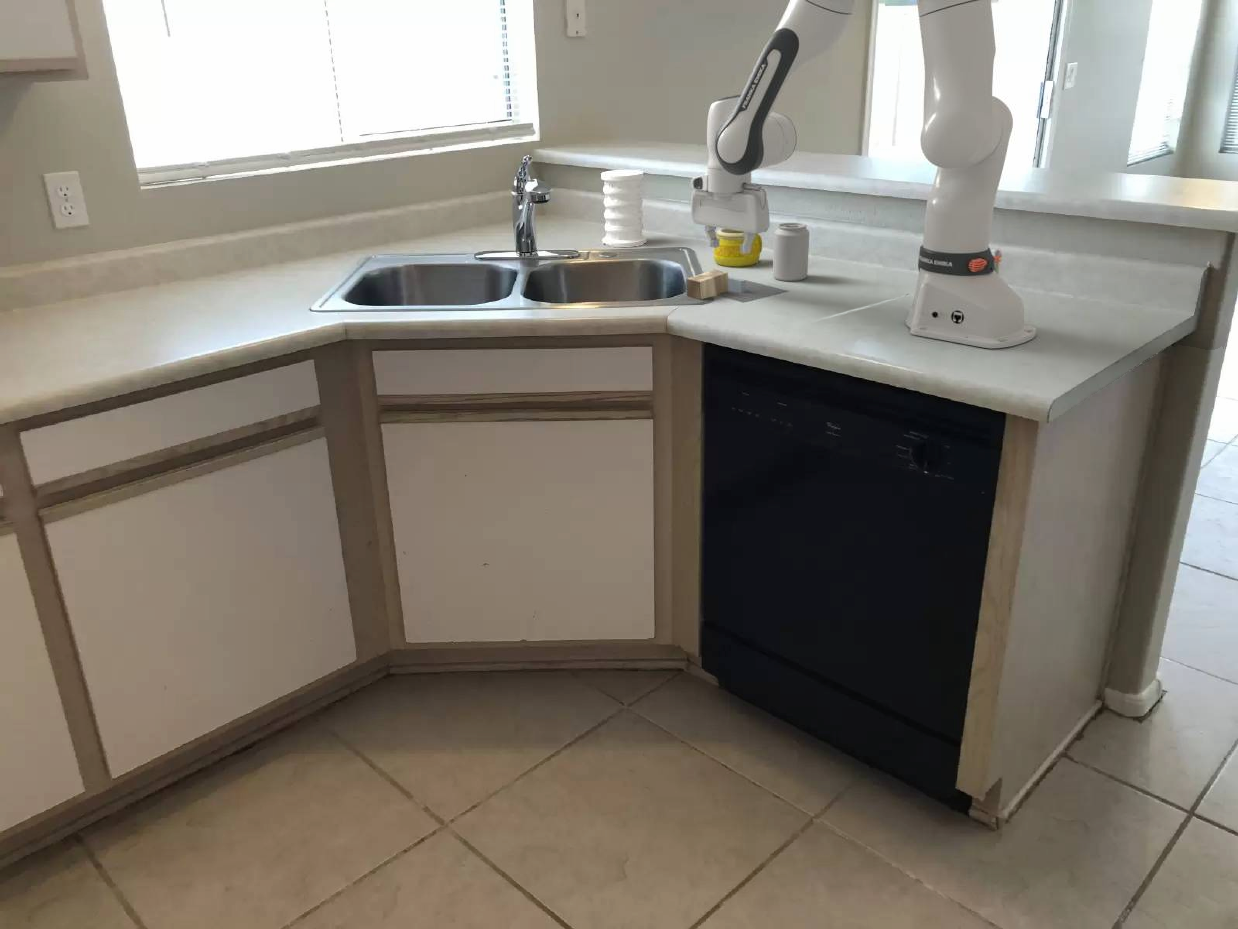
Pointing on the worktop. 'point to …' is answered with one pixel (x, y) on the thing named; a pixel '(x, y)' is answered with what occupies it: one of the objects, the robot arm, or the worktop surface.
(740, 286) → the strip
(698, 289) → the block
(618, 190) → the decorative container
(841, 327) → the worktop surface
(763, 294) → the mat
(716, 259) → the yellow pot
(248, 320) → the worktop surface
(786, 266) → the can
